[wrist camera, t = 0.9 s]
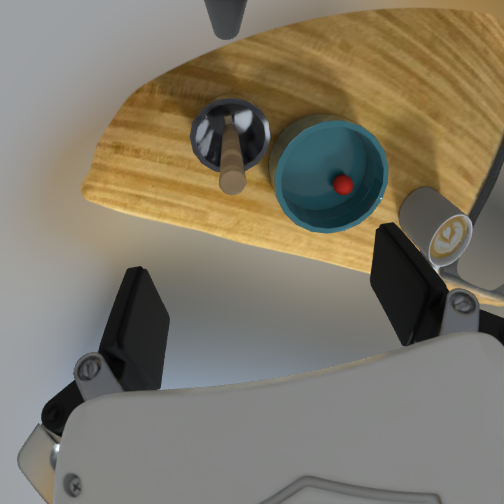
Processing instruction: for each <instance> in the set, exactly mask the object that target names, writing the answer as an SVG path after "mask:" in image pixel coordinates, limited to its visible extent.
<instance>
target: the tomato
mask: <svg viewBox="0 0 504 504" xmlns="http://www.w3.org/2000/svg"><path fill="white" fill-rule="evenodd" d="M333 188H334V190H335V191H336V192H337V193H338V194H340V195H347V194H349V193H350V192H351V191H352V189H353V181H352V179H351V178H350V177H349V176H347V175H339V176H337V177H336V178H335V179H334V181H333Z"/></svg>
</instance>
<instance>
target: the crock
mask: <svg viewBox="0 0 504 504" xmlns="http://www.w3.org/2000/svg"><path fill="white" fill-rule="evenodd" d="M226 111H231V116H232V121H233V125H235V126H236V128H237V132H238V137H239V143H240V148H241V154H242V159H243V165H244V171H246V170H248V169H250V168H251V167H253V166H255V165H256V164H258V163H259V161H260V160H261V159H262V158H263V156H264V155H265V154H266V153H267V150H268V147H269V143H270V140H271V134H270V127H269V122H268V121H267V119H266V117H265V116H264V114H263V113H262V111H261V110H260V109H259V108H258V107H257V106H256V105H255V104H254V103H253V102H251V101H250V100H249V99H247V98H245V97H244V96H240V95H236V94H224V95H220V96H217V97H216V98H214V99H212V100H211V101H209V102H208V103H207V104H206V105H205V106H204V107H203V108H202V110H201V111H200V112H199V114H198V115H197V117H196V118H195V120H194V121H193V123H192V128H191V133H190V140H191V145H192V149H193V152H194V154H195V155H196V156H197V158H198V159H199V160H200V162H201V163H202V164H204V165H205V166H207V167H208V168H210V169H212V170H213V171H216V172H220V163H221V150H222V138H223V129H224V127H225V126H226V125H225V119H224V113H225V112H226Z"/></svg>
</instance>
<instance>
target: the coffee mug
mask: <svg viewBox="0 0 504 504" xmlns="http://www.w3.org/2000/svg"><path fill="white" fill-rule="evenodd" d="M399 222H400V226H401V228H402V229H403V231H404V232H405V233H406V234H407V235H408V236H409V237H410V239H411V240H412V241H413V242H414V243H415V244H416V246H417V247H418V248H419V249H420V253H421V254H422V255H423V256H424V258H425V259H426V260H427V261H428V262H429V264H430V265H431V266H432V267H433V269H434V270H437V269H438V268H439V267H442V266H446V265H449V264H451V263H452V262H454V261H455V260H457V259H458V258H459V257H460V256H461V255H462V253H463V252H464V251H465V249H466V248H467V246H468V244H469V242H470V239H471V236H472V223H471V220H470V219H469V217H468V216H467V215H465V214H464V213H463V212H462V211H461V210H460V209H458V208H457V207H456V206H455V205H453V204H452V203H451V202H450V201H449V200H447V199H446V198H445V197H443V196H442V195H441V194H440V193H438V192H437V191H436V190H434V189H433V188H430V187H421V188H418V189H416V190H415V191H413V192H412V193H411V194H410V195H409V196H408V197H407V198H406V199H405V201H404V203H403V205H402V207H401V210H400V214H399Z"/></svg>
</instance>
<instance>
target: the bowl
mask: <svg viewBox="0 0 504 504" xmlns="http://www.w3.org/2000/svg"><path fill="white" fill-rule="evenodd" d="M388 168H389V167H388V163H387V159H386V155H385V151H384V149H383V148H382V146H381V145H380V143H379V142H378V140H377V139H376V137H375V136H374V135H373V134H371V133H370V132H369V131H367V130H366V129H365V128H363V127H362V126H360V125H358V124H356V123H354V122H351V121H349V120H347V119H345V118H341V117H338V116H335V115H330V114H314V115H309V116H306V117H303V118H301V119H298V120H296V121H295V122H293V123H292V124H290V125H289V126H288V127H287V128H285V130H284V131H283V132H282V133H281V134H280V135H279V137H278V138H277V139H276V141H275V143H274V145H273V147H272V150H271V153H270V158H269V175H270V181H271V184H272V187H273V190H274V192H275V195H276V197H277V200H278V202H279V204H280V206H281V208H282V210H283V212H284V213H285V214H286V215H287V216H288V217H289V218H290V219H291V220H292V221H293V222H294V223H295V224H296V225H298V226H300V227H303V228H305V229H307V230H309V231H311V232H319V233H334V232H340V231H345V230H347V229H349V228H351V227H354V226H356V225H358V224H360V223H361V222H362V221H363V220H365V219H366V218H367V217H368V216H369V215H371V214H372V213H373V211H374V210H375V209H376V207H377V206H378V204H379V203H380V201H381V200H382V198H383V195H384V192H385V189H386V186H387V183H388ZM339 175H347V176H349V177H350V178H351V179H352V181H353V189H352V191H351V192H350V193H349V194H347V195H340V194H338V193H337V192H336V191H335V190H334V188H333V181H334V179H335V178H336V177H337V176H339Z"/></svg>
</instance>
